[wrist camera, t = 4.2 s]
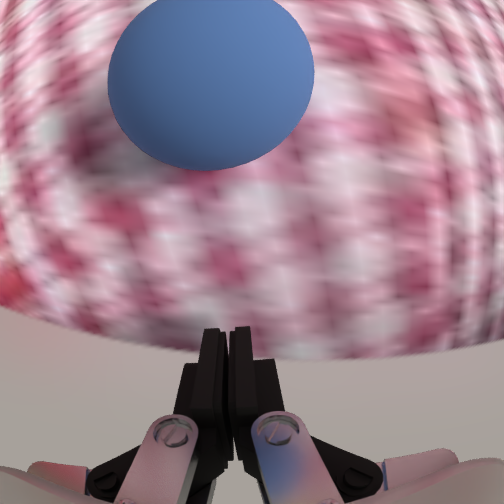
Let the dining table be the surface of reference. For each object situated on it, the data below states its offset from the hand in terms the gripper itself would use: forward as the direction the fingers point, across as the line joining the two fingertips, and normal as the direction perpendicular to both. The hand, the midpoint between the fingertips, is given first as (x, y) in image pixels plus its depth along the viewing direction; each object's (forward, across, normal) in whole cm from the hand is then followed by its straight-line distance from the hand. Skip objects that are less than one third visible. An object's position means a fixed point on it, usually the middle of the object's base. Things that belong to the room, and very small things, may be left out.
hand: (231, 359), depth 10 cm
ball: (-1, 0, -10) cm, 10 cm away
